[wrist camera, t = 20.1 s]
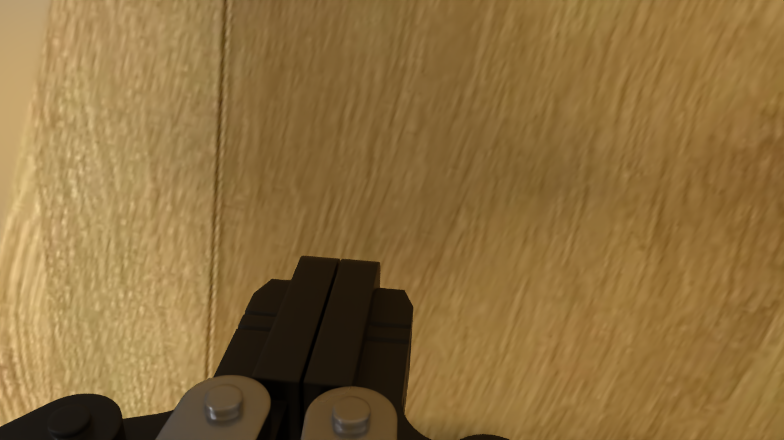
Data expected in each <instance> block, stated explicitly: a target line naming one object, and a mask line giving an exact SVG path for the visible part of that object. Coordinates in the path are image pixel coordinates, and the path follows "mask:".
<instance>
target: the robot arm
mask: <svg viewBox="0 0 784 440" xmlns="http://www.w3.org/2000/svg"><path fill="white" fill-rule="evenodd" d="M412 322H413V305H412V304H411V302H410V300H409V298H408V296H407V294H406V292H405V290H397V289H386V288H380V262H375V261H363V260H350V259H342V260H341V261H340V259H337V258H325V257H313V256H301V258H300V260H299V262H298V265H297V267H296V269H295V272H294V274H293V277H292V279H291V280H279V279H271V280H270V281H269V282H267V283H266V284H265V285H264V286H262V287H261V288H260V289H259V290H257V291H256V292H255V293H254V294H253V296H252V298H251V300H250V302H249V304H248V306H247V308H246V310H245V314H244V315H243V317H242V319H241V321H240V323H239V325H238V329H236V331H235V333H234V335H233V337H232V339H231V342H230V344H229V346H228V348H227V350H226V352H225V354H224V356H223V358H222V360H221V362H220V364H219V366H218V369H217V371H216V373H215V375H214V377H213V378H210V379H207V380H205V381H202V382H200V383H198V384H196V385H195V386H194V387H192V388H191V389H190V390H188V391H187V392H186V393H185V395H184V396H183V397H182V398H181V400H180V402H179V403H178V405H177V406H176V408H175V409H174V410H172V411H168V412H164V413H159V414H153V415H146V416H139V417H132V418H126V419H123V418H122V413H121V410H120V408H119V406H118V405H117V404H116V403H115V402H114V401H113V400H111V399H109V398H107V397H105V396H102V395H97V394H76V395H71V396H67V397H63V398H60V399H57V400H55V401H53V402H50V403H48V404H46V405H44V406H42V407H40V408H38V409H36V410H34V411H32V412H30V413H28V414H26V415H24V416H22V417H20V418H17V419H15V420H13V421H11V422H9V423H7V424H5V425H3V426H1V427H0V440H431V439H429V438H427V437H425V436H424V435H422V434H421V433H419V432H418V431H417V430H416V429H414V428H413V426H412V425H411V424H410V423H409V422H408V420H407V419H406V417H405V415H404V413H405V404H406V396H407V387H408V379H409V370H410V354H411V338H412ZM460 440H509V439H507V438H503V437H500V436H495V435H488V434H479V435H472V436H467V437H465V438H462V439H460Z"/></svg>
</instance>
